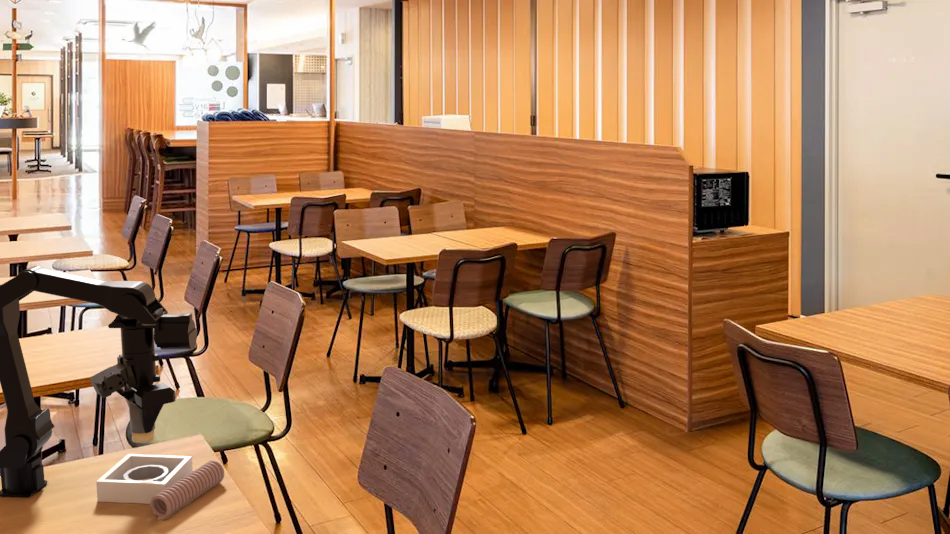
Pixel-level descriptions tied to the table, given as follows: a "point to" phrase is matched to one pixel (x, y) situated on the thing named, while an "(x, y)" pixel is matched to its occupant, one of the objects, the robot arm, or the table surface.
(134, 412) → the plug
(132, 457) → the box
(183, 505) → the coil
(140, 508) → the table surface
